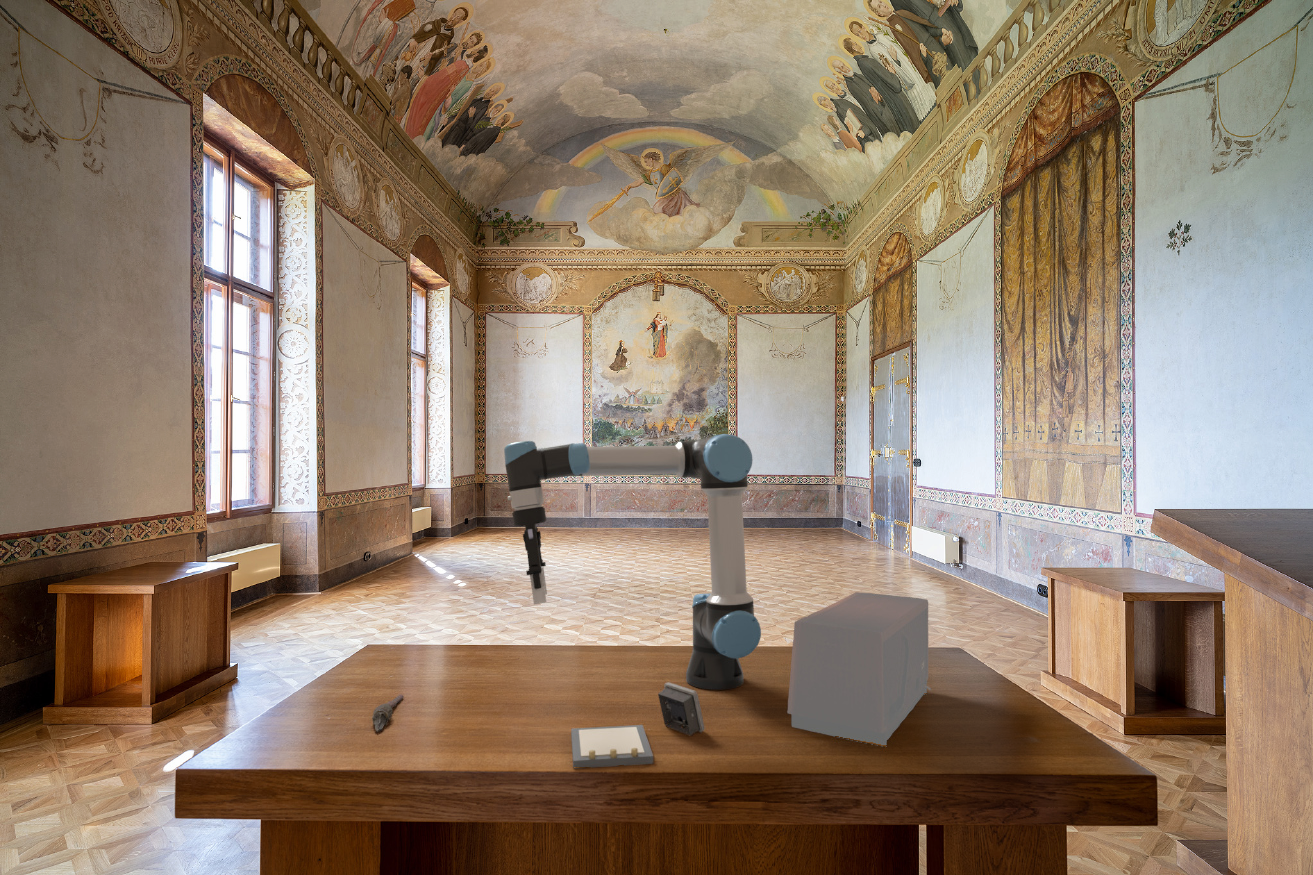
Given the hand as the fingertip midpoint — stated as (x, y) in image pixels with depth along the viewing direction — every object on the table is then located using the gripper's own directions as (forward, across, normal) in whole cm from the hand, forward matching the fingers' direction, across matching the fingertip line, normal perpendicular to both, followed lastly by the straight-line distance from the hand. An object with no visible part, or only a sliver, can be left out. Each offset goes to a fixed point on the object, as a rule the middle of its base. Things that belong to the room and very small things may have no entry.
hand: (540, 599), depth 154 cm
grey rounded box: (+38, +7, +70) cm, 80 cm away
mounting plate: (+29, +21, +10) cm, 37 cm away
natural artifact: (+21, -5, -37) cm, 43 cm away
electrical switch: (+31, +13, +26) cm, 43 cm away
